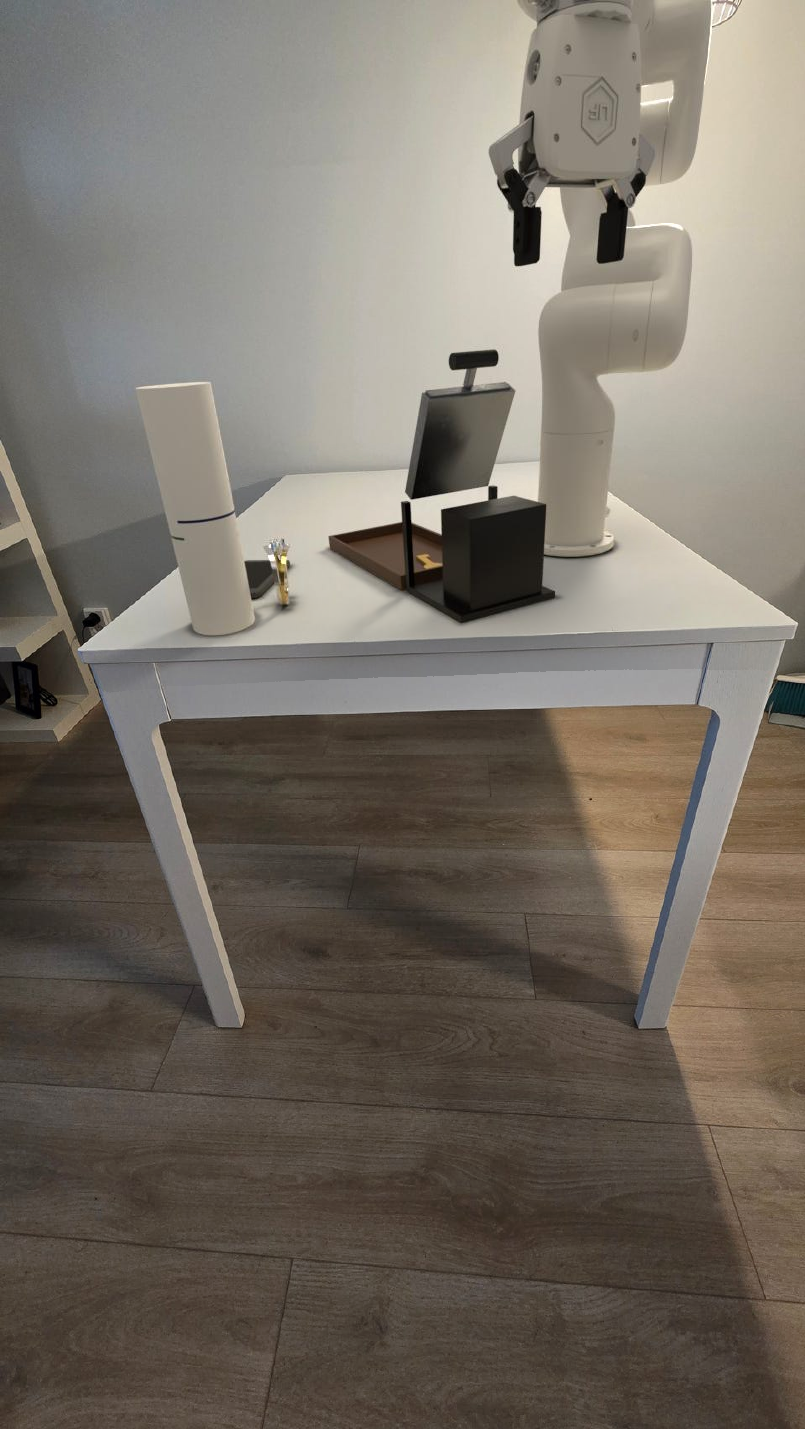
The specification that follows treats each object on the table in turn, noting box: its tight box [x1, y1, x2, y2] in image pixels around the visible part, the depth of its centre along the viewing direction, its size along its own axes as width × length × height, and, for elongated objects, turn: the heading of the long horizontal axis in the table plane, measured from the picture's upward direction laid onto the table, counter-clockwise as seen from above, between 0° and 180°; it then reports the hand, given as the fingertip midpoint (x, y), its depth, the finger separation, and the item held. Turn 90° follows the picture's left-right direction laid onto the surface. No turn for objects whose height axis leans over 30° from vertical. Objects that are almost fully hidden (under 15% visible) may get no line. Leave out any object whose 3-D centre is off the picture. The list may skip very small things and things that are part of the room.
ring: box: [262, 538, 291, 606], centre depth 78 cm, size 7×3×8 cm, turn 3°
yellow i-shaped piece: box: [416, 554, 442, 569], centre depth 89 cm, size 7×3×1 cm, turn 20°
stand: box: [400, 484, 556, 624], centre depth 76 cm, size 13×13×11 cm
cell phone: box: [244, 559, 291, 598], centre depth 88 cm, size 7×14×1 cm, turn 171°
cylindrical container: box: [135, 381, 256, 636], centre depth 69 cm, size 7×7×25 cm
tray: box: [327, 521, 443, 591], centre depth 93 cm, size 24×14×2 cm, turn 28°
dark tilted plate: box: [404, 349, 517, 501], centre depth 72 cm, size 16×11×2 cm
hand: (569, 263), depth 61 cm, fingers open, 9 cm apart
